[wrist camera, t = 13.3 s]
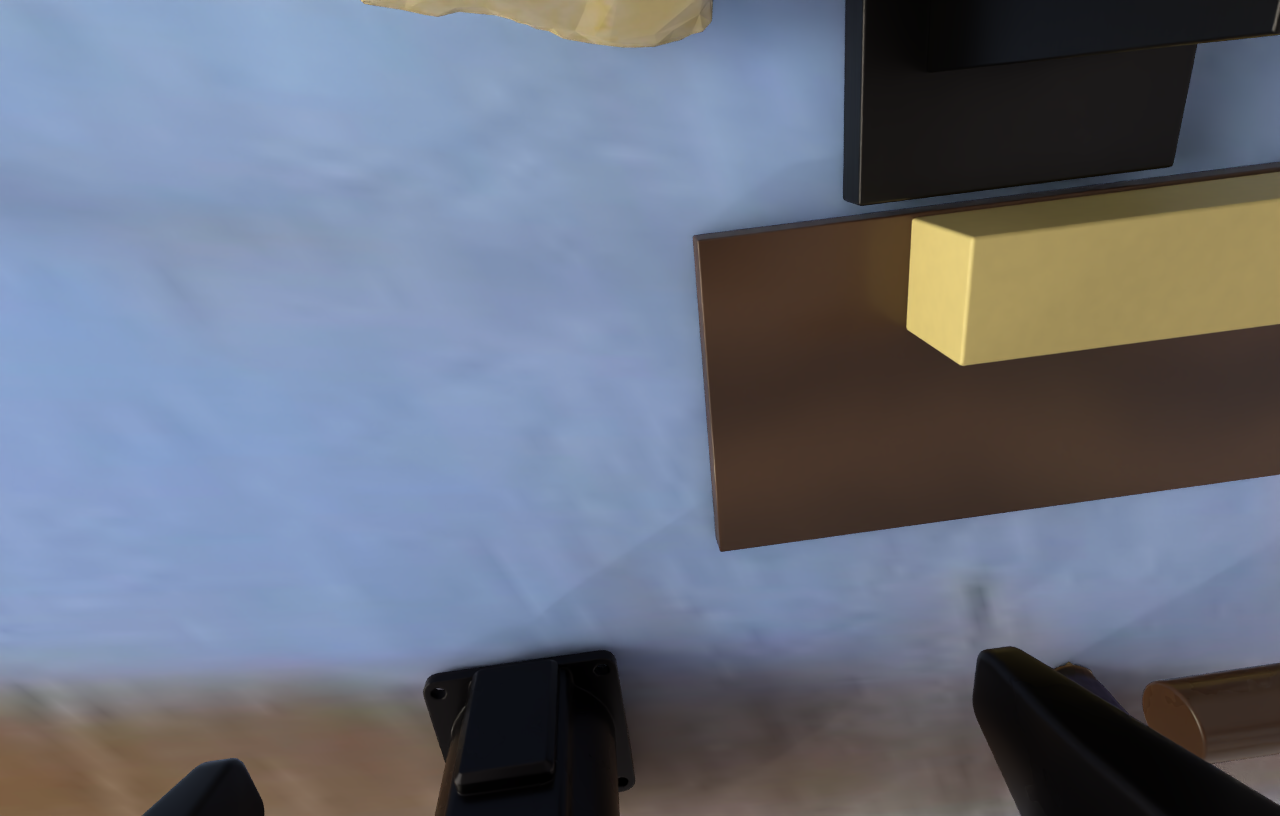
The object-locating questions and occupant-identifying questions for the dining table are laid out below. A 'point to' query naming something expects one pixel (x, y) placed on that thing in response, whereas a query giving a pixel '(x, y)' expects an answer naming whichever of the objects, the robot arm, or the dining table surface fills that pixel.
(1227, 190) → the butter
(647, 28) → the cheese
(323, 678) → the dining table surface
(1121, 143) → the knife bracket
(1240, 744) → the grey brown t-shaped piece
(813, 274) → the butter board
